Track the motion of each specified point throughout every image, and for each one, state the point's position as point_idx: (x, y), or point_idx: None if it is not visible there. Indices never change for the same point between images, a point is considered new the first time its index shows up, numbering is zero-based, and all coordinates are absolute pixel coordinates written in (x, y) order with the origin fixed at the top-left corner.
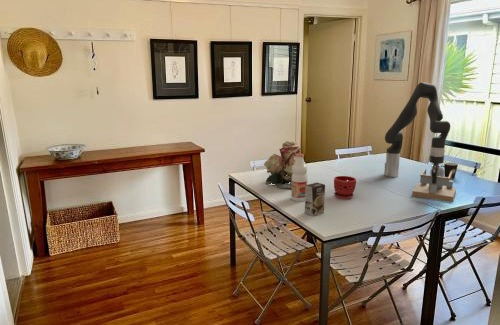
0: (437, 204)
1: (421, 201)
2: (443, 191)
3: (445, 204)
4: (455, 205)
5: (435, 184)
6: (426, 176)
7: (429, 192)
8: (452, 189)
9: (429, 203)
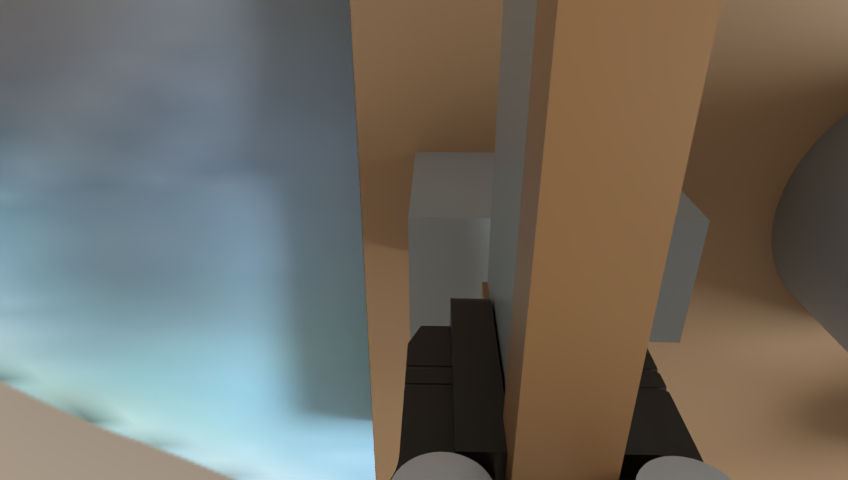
0: (120, 272)
1: (79, 15)
2: None
3: (202, 359)
4: (246, 453)
5: None
6: (525, 190)
7: (435, 141)
8: (818, 460)
9: (75, 162)
